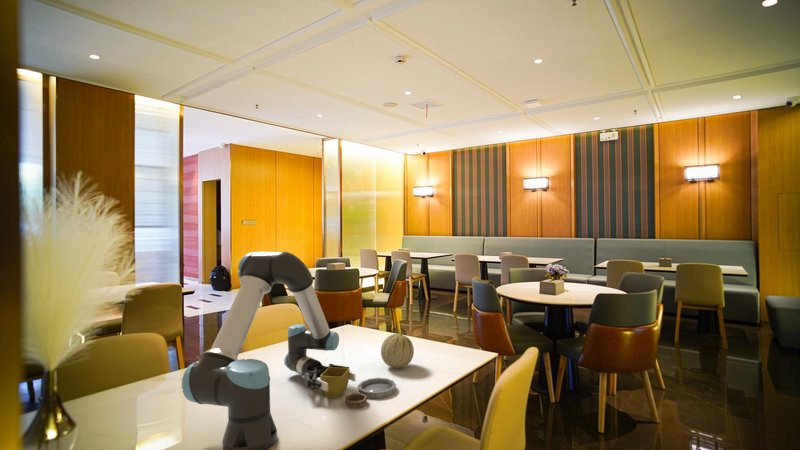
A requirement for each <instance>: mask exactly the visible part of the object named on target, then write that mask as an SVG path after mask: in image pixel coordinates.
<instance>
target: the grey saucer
mask: <svg viewBox="0 0 800 450" xmlns="http://www.w3.org/2000/svg"><path fill="white" fill-rule="evenodd" d="M396 389H397V384H396V383H395V381H394V380H393V379H390V378H387V377H385V378H383V377H374V378H373V377H372V378H368V379H365V380H363V381H361V382H359V384H358V385H357V390H358V393H362V394H364V395H366V396H367V399H383V398H388V397H389V396H392V395H393V394H395V392H396Z"/></svg>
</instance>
